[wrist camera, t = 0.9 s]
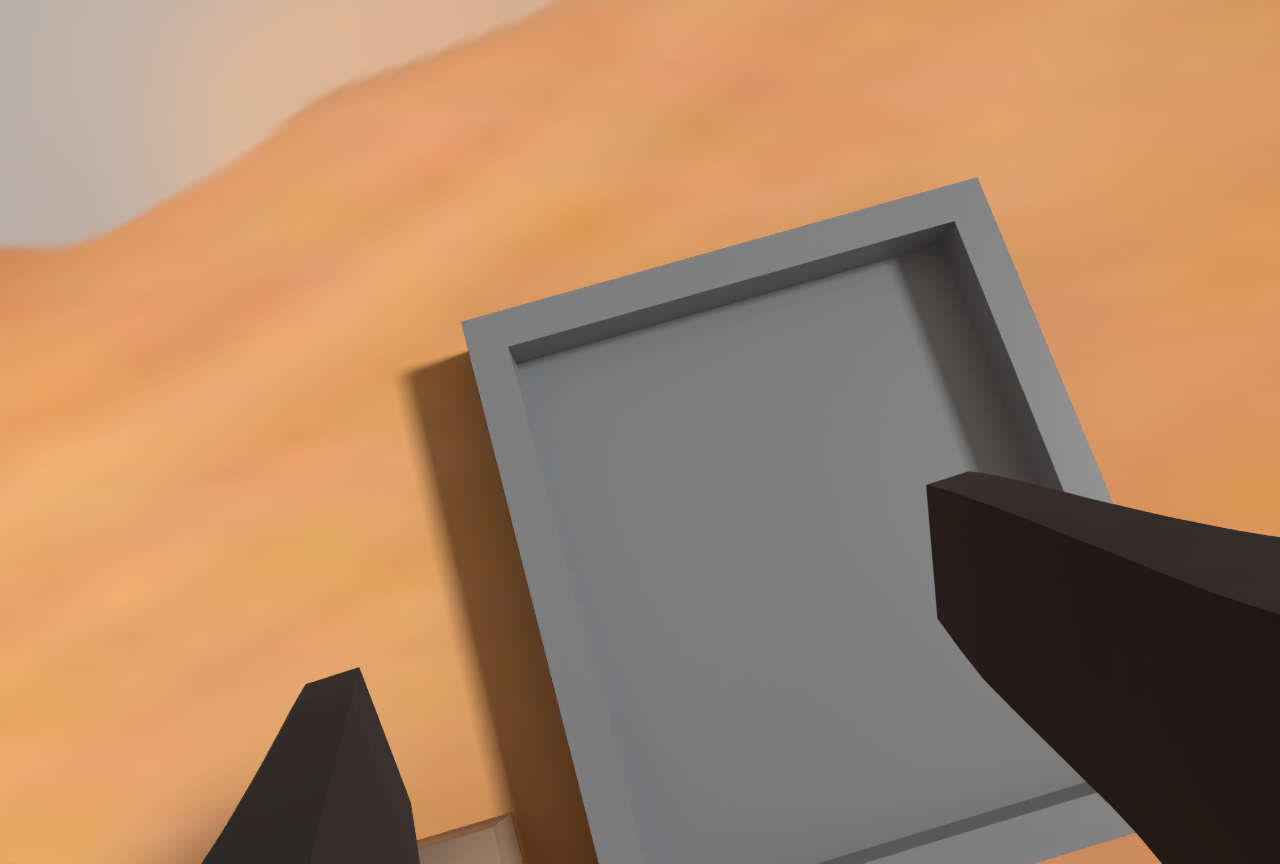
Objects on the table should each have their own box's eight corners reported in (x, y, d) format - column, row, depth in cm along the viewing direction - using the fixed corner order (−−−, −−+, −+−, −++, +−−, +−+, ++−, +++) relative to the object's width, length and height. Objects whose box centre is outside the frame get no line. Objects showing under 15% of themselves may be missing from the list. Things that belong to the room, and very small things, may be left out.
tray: (1191, 791, 24) (1237, 801, 22) (634, 961, 23) (630, 987, 21) (956, 212, 28) (977, 177, 26) (476, 347, 27) (460, 322, 25)
